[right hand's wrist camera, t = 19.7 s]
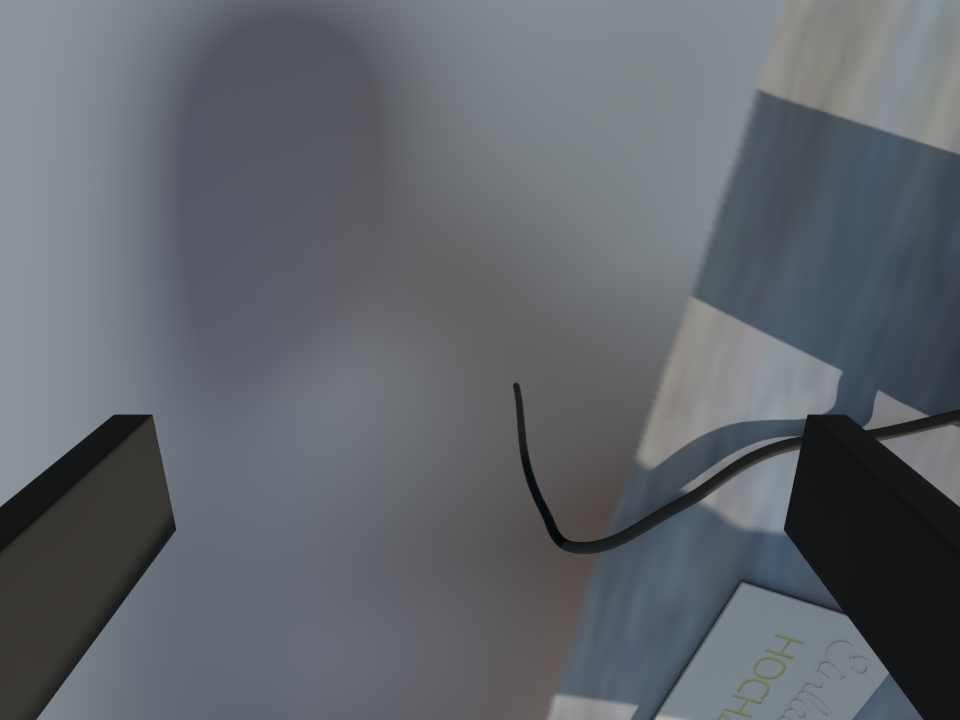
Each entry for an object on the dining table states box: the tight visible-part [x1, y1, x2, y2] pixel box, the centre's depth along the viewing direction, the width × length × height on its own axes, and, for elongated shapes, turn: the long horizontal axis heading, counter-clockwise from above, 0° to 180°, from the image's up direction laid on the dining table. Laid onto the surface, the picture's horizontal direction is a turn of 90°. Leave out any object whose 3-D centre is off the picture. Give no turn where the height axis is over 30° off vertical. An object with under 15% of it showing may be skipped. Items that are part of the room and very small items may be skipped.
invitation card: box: [653, 582, 889, 720], centre depth 51 cm, size 21×1×15 cm
